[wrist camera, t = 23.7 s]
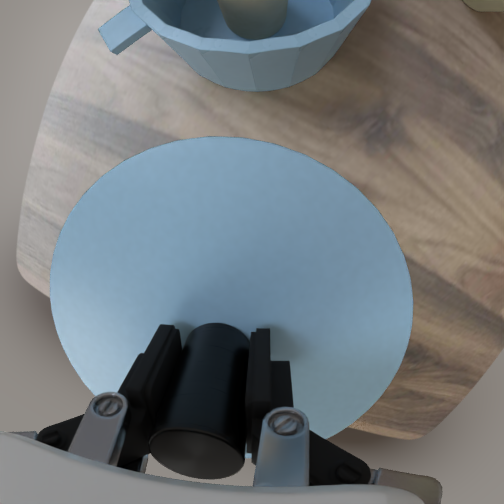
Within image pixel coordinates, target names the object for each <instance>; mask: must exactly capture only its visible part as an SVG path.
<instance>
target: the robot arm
mask: <svg viewBox="0 0 504 504" xmlns="http://www.w3.org/2000/svg"><path fill="white" fill-rule="evenodd" d="M181 352H182V344H181V337H180V331H179V329H175V326H174V325H166V324H160V325H159V327H158V329H157V331H156V332H155V334H154V336H153V338H152V339H151V341H150V343H149V345H148V347H147V348H146V350H145V352H144V353H140V354H139V355H138V356H137V358H136V360H135V361H134V363H133V365H132V367H131V368H130V370H129V372H128V374H127V376H126V377H125V379H124V381H123V383H122V385H121V386H120V388H119V390H118V392H117V393H116V392H105V393H101V394H99V395H97V396H96V397H94V398H93V399H92V401H91V402H90V404H89V406H88V408H87V410H86V412H85V414H83V415H80V416H78V417H75V418H72V419H69V420H66V421H63V422H61V423H58V424H55V425H52V426H49V427H46V428H44V429H43V430H42V431H40V432H39V434H37V433H36V431H31V432H2V431H0V504H440V503H441V498H442V486H441V484H440V482H439V481H438V480H436V479H435V478H432V477H429V476H423V475H416V474H410V473H404V472H399V471H393V470H388V469H383V468H379V469H378V470H375V469H370V468H369V467H368V466H367V464H366V463H365V462H364V461H362V460H361V459H359V458H357V457H355V456H353V455H352V454H350V453H348V452H346V451H344V450H343V449H341V448H339V447H338V446H336V445H334V444H332V443H331V442H329V441H327V440H326V439H324V438H322V437H321V436H319V435H318V434H316V433H314V432H313V431H311V430H309V420H308V417H307V416H306V415H305V413H303V412H302V411H301V410H298V409H296V408H294V404H293V392H292V381H291V370H290V361H271V350H270V328H256V332H251V336H250V348H249V359H248V371H247V382H246V394H245V420H246V429H247V437H246V452H247V453H250V454H252V463H253V464H255V465H256V469H255V475H254V481H253V486H233V485H220V484H209V483H200V482H192V481H184V480H178V479H171V478H166V477H160V476H154V475H149V474H145V471H146V466H147V462H148V454H149V453H150V451H149V448H148V439H149V436H150V433H151V431H152V428H153V425H154V422H155V420H156V417H157V414H158V412H159V409H160V406H161V404H162V401H163V398H164V396H165V393H166V390H167V388H168V385H169V383H170V380H171V377H172V375H173V372H174V370H175V367H176V364H177V362H178V359H179V357H180V354H181Z"/></svg>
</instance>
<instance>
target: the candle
mask: <svg viewBox="0 0 504 504" xmlns="http://www.w3.org/2000/svg"><path fill="white" fill-rule="evenodd" d="M217 2H218V4H219V7H220V9H221V12H222V14H223V17H224V20H225V22H226V24H227V26H228V27H229V29H230V30H231V31H232V32H233V33H235V34H236V35H238V36H240V37H242V38H246V39H252V40H258V39H264V38H267V37H270V36H272V35H274V34H275V33H277V32H278V31H279V30H280V29H281V28H282V26H283V25H284V23H285V20H286V14H287V5H288V0H217Z"/></svg>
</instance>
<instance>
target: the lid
mask: <svg viewBox="0 0 504 504" xmlns="http://www.w3.org/2000/svg"><path fill="white" fill-rule="evenodd" d="M50 300H51V308H52V315H53V319H54V323H55V326H56V330H57V333H58V336H59V339H60V341H61V344H62V346H63V349H64V351H65V353H66V355H67V357H68V359H69V361H70V362H71V364H72V366H73V368H74V369H75V371H76V372H77V374H78V375H79V377H80V378H81V379H82V381H83V382H84V384H85V385H86V386H87V387H88V388H89V389H90V391H91V392H92V393H93V394H94V395H95V396H97V395H99V394H101V393H105V392H116V393H117V392H118V390H119V388H120V386H121V385H122V383H123V381H124V379H125V377H126V376H127V374H128V372H129V370H130V368H131V367H132V365H133V363H134V361H135V360H136V358H137V356H138V355H139V354H140V353H144V352H145V350H146V348H147V347H148V345H149V343H150V341H151V339H152V338H153V336H154V334H155V332H156V331H157V329H158V327H159V325H160V324H166V325H174V326H175V329H179V331H180V337H181V344H182V352H181V354H180V357H179V359H178V362H177V364H176V367H175V370H174V372H173V375H172V377H171V380H170V383H169V385H168V388H167V390H166V393H165V396H164V398H163V401H162V404H161V406H160V409H159V412H158V414H157V417H156V420H155V422H154V425H153V428H152V431H151V433H150V436H149V439H148V448H149V451H150V453H151V454H152V456H153V457H154V458H155V459H156V460H157V461H158V462H159V463H160V464H162V465H163V466H165V467H166V468H168V469H170V470H172V471H174V472H176V473H179V474H182V475H185V476H188V477H192V478H198V479H221V478H226V477H229V476H232V475H234V474H236V473H237V472H238V471H240V469H241V468H242V467H243V465H244V462H245V458H252V454H250V453H247V452H246V437H247V429H246V420H245V394H246V382H247V371H248V359H249V348H250V336H251V332H256V328H270V350H271V361H290V370H291V381H292V392H293V404H294V408H296V409H298V410H301V411H302V412H303V413H305V415H306V416H307V417H308V420H309V430H311V431H313V432H314V433H316V434H318V435H319V436H321V437H322V438H324V439H327V438H329V437H331V436H333V435H335V434H336V433H338V432H340V431H341V430H343V429H344V428H346V427H347V426H349V425H350V424H352V423H353V422H354V421H356V420H357V419H358V418H359V417H360V416H362V415H363V414H364V413H365V412H366V411H367V410H368V409H369V408H370V407H371V406H372V405H373V404H374V403H375V402H376V401H377V400H378V399H379V398H380V397H381V395H382V394H383V392H384V391H385V390H386V388H387V387H388V386H389V384H390V383H391V381H392V380H393V378H394V376H395V374H396V372H397V370H398V368H399V367H400V365H401V362H402V360H403V357H404V354H405V352H406V349H407V346H408V342H409V338H410V333H411V328H412V319H413V295H412V286H411V278H410V275H409V271H408V267H407V264H406V260H405V257H404V254H403V252H402V250H401V248H400V246H399V243H398V241H397V239H396V237H395V235H394V233H393V231H392V230H391V228H390V227H389V225H388V224H387V222H386V221H385V219H384V218H383V216H382V215H381V214H380V212H379V211H378V209H377V208H376V207H375V206H374V205H373V204H372V203H371V202H370V201H369V200H368V199H367V198H366V197H365V196H364V195H363V194H362V192H361V191H360V190H359V189H358V188H356V187H355V186H354V185H352V184H351V183H350V182H349V181H347V180H346V179H345V178H343V177H342V176H341V175H339V174H338V173H337V172H335V171H334V170H333V169H331V168H329V167H327V166H325V165H324V164H322V163H320V162H318V161H316V160H314V159H312V158H311V157H309V156H307V155H305V154H302V153H299V152H297V151H294V150H291V149H288V148H286V147H283V146H280V145H277V144H274V143H269V142H264V141H259V140H253V139H248V138H242V137H217V136H208V137H199V138H191V139H183V140H177V141H174V142H170V143H167V144H163V145H160V146H156V147H153V148H150V149H148V150H145V151H143V152H141V153H139V154H137V155H135V156H133V157H131V158H129V159H127V160H124V161H123V162H122V163H120V164H119V165H117V166H116V167H114V168H113V169H111V170H110V171H108V172H107V173H106V174H104V175H103V176H102V177H101V178H100V179H99V180H98V181H97V182H95V183H94V184H93V185H92V186H91V187H90V188H89V189H88V190H87V191H86V192H85V193H84V195H83V196H82V197H81V199H80V200H79V201H78V203H77V204H76V206H75V207H74V208H73V210H72V211H71V213H70V214H69V216H68V218H67V220H66V222H65V224H64V226H63V228H62V230H61V232H60V235H59V238H58V241H57V244H56V247H55V250H54V254H53V259H52V265H51V272H50Z"/></svg>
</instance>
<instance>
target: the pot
mask: <svg viewBox="0 0 504 504" xmlns="http://www.w3.org/2000/svg"><path fill="white" fill-rule="evenodd" d="M129 3H130V5H129V6H128V7H126V8H125V9H124V10H122V11H121V12H119V13H118V14H117V15H115V16H114V17H113V18H111V19H110V20H109V21H107V22H106V23H105V24H104V25H102V26H101V27H100V28H99V29H98V31H99V32H100V34H101V36H102V38H103V39H104V41H105V43H106V45H107V46H108V48H109V50H110V51H111V52H112V53H114V54H116V55H118V54H119V53H121V52H122V51H123V50H125V49H126V48H127V47H129V46H130V45H131V44H133V43H134V42H135V41H137V40H138V39H140V38H141V37H142V36H144V35H145V34H147V33H148V32H150V31H151V30H153V31H154V32H155V33H156V34H157V35H158V36H160V37H161V38H162V39H163V40H164V41H165V42H166V43H167V44H168V45H169V46H170V47H171V48H172V49H173V50H174V51H175V52H176V53H177V54H178V55H179V56H181V57H182V58H183V59H184V60H185V61H186V62H187V63H188V64H189V65H190V66H191V67H192V68H193V69H194V70H195V71H196V72H197V73H198V74H199V75H200V76H202V77H204V78H206V79H208V80H210V81H212V82H214V83H216V84H219V85H221V86H224V87H226V88H232V89H236V90H242V91H255V92H259V91H271V90H277V89H282V88H286V87H290V86H292V85H295V84H297V83H300V82H302V81H304V80H306V79H307V78H309V77H311V76H313V75H315V74H316V73H317V72H318V71H319V70H320V69H321V68H322V67H323V66H324V65H325V64H326V63H327V62H328V61H329V60H330V59H331V58H332V57H333V56H334V55H335V53H336V52H337V50H338V49H339V48H340V46H341V45H342V43H343V42H344V40H345V39H346V37H347V36H348V35H349V33H350V32H351V30H352V29H353V27H354V26H355V25H356V23H357V22H358V20H359V19H360V18H361V16H362V15H363V13H364V12H365V11H366V9H367V8H368V6H369V5H370V3H371V0H288V5H287V14H286V20H285V23H284V25H283V26H282V28H281V29H280V30H279V31H278V32H277V33H275V34H274V35H272V36H270V37H267V38H264V39H258V40H252V39H246V38H242V37H240V36H238V35H236V34H235V33H233V32H232V31H231V30H230V29H229V27H228V26H227V24H226V22H225V20H224V17H223V14H222V12H221V9H220V7H219V4H218V2H217V0H129Z"/></svg>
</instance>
